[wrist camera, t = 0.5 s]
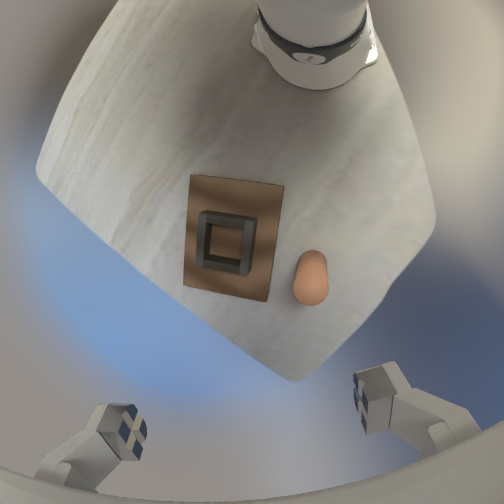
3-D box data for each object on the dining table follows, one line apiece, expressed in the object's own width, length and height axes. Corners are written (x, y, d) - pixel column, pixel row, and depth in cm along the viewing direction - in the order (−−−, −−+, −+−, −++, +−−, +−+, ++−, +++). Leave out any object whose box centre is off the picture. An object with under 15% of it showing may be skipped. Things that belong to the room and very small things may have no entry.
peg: (300, 247, 47) (296, 269, 38) (329, 252, 47) (331, 276, 37) (296, 274, 49) (290, 302, 39) (323, 279, 48) (324, 308, 39)
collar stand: (194, 174, 48) (182, 175, 43) (284, 186, 45) (280, 188, 41) (186, 281, 53) (175, 291, 49) (267, 298, 51) (263, 310, 47)
